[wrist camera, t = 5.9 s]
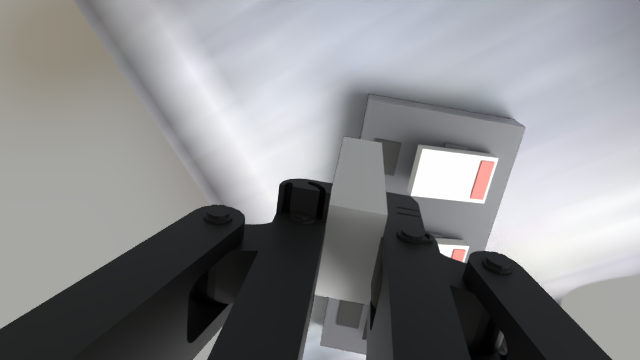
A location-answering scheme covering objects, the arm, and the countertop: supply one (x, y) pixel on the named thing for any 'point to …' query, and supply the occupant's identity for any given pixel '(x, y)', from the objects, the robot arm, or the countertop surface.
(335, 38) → the countertop surface
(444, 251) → the rocker middle
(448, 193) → the block
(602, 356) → the robot arm
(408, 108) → the power strip
